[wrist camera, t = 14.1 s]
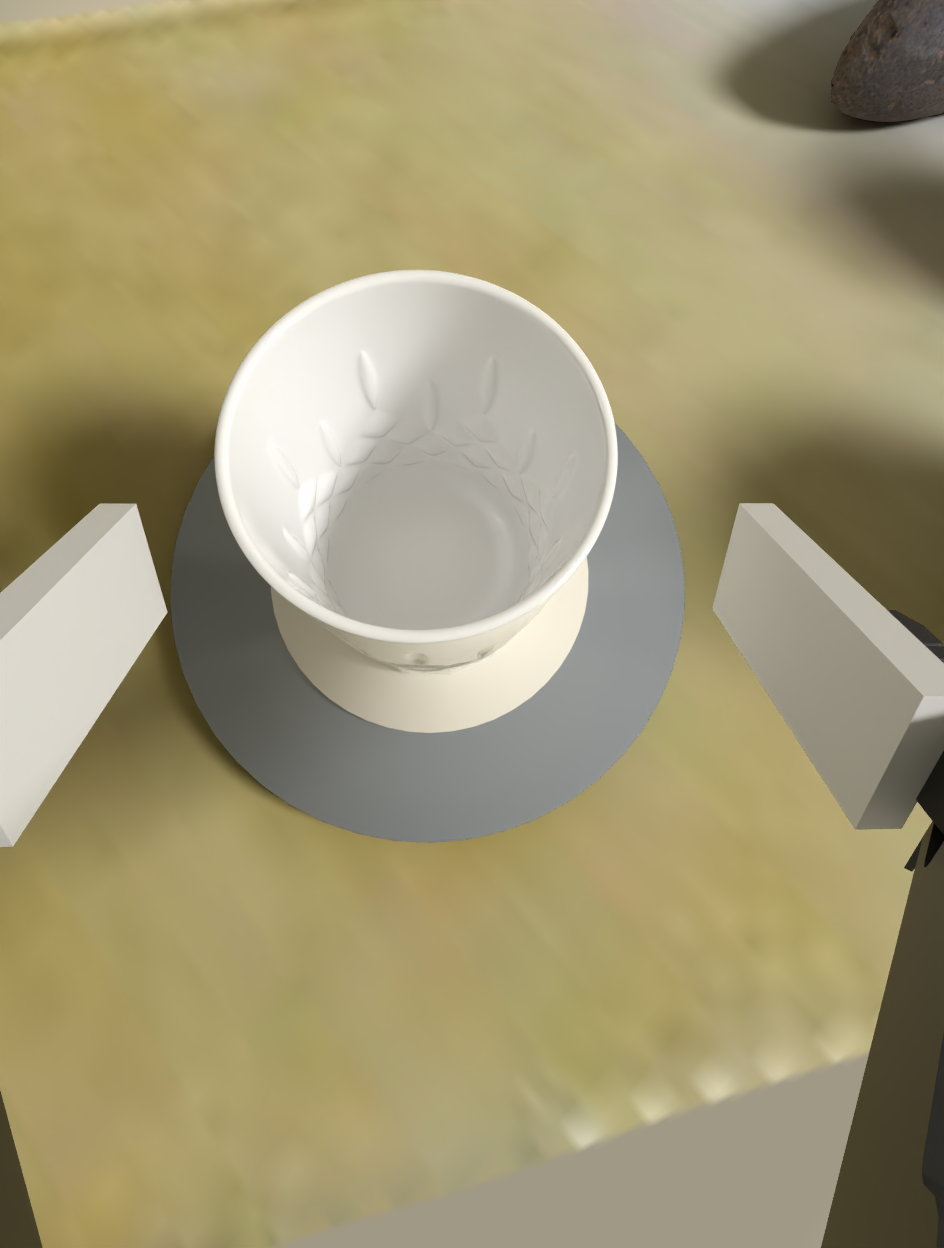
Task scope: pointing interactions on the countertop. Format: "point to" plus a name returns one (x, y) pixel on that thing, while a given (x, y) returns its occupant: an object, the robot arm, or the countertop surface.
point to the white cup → (416, 464)
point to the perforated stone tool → (894, 63)
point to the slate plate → (434, 683)
